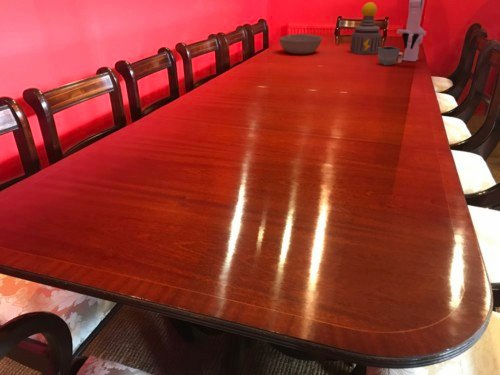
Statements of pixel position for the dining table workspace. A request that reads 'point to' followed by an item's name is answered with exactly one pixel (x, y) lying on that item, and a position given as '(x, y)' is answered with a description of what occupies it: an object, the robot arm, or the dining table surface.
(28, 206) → the dining table surface
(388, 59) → the flower pot
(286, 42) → the bowl
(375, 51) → the decorative lamp
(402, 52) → the letter cube
